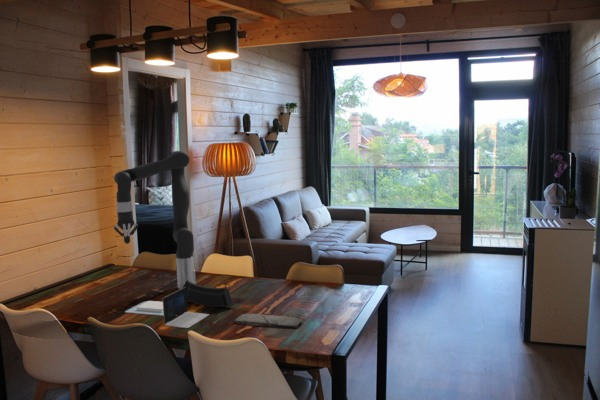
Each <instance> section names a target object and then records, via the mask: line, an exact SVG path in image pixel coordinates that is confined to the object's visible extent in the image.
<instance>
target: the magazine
mask: <svg viewBox="0 0 600 400" xmlns="http://www.w3.org/2000/svg"><path fill="white" fill-rule="evenodd" d="M184 287H186V297H187V303H189V302H191V303H193V304H196V305H200V306H206V307H212V308H213V307H214V308H231V307H233V305H234V303H233V300H232V296H231V293H230V290H229V289H228V287H227V286H224V287H211V286H210V287H209V286H204V285H199V284H197V283H196V284H194V283H192V282H189V280H187V281H186V282H185V284H184V286H183V288H184Z"/></svg>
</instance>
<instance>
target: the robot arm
mask: <svg viewBox="0 0 600 400" xmlns="http://www.w3.org/2000/svg"><path fill="white" fill-rule="evenodd" d="M190 160H191V159H190V156H189V155H188V153H186V152H185V151H181V150H174V151H173V152H171V153H170V154H169V156H168V157H167V158H163V159H161V160H156V161H153V162H152V161H151V162H147V163H144V164H141V165H138V166H135V167H133V168H129V169H125V170H124V169H123V170H120V171H118V172H116V173H115V174H114V177H113V180H114V182H115V184H117V186H116V187H117V191H116V215H117V223H116V225H115V226H113V228H112V229H114V230H115V232H116V233H118V235H120V236H121V237H123V242H124V244H126V245H127V244H130V243H131V236H133V235H134V234H135V233H136V232H137V230H138V228H139V226H140V225H139V224H137V223H135V220H134V213H133V212H134V211H133V203H132V193H131V192H132V182H135V181H141V180H144V179H147V178H149V177H153V176H155V175H159V174H161V173H165V172H168V171H170V175H171V177H170V179H171V202H172V205H171V206H172V213H173V214H172V215H173V230H172V233H173V234H172V236H173V240H174V241H175V242H176V252H175V261H176V263H175V264H176V278H177V280H176V281H177V289H178V290H180V289H182V288H183V286H184V284H185V282H186V281H187V280H189V282H192V283H194V284H197V283H196V282H197V280H196V279H197V278H196V270H195V266H194V264H195V263H194V251H195V242H194V241H195V240H194V239H195V238H194V233H193V232H192V231H191V230H190V229H189V228H188V227H189V226H188V213H189V210H190V209H189V208H190V191H189V187H188V184H187V181H186V177H185V168H186V167H187V166H188V165H189V164H190ZM119 228H120V230H122V231H120V230H119Z"/></svg>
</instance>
